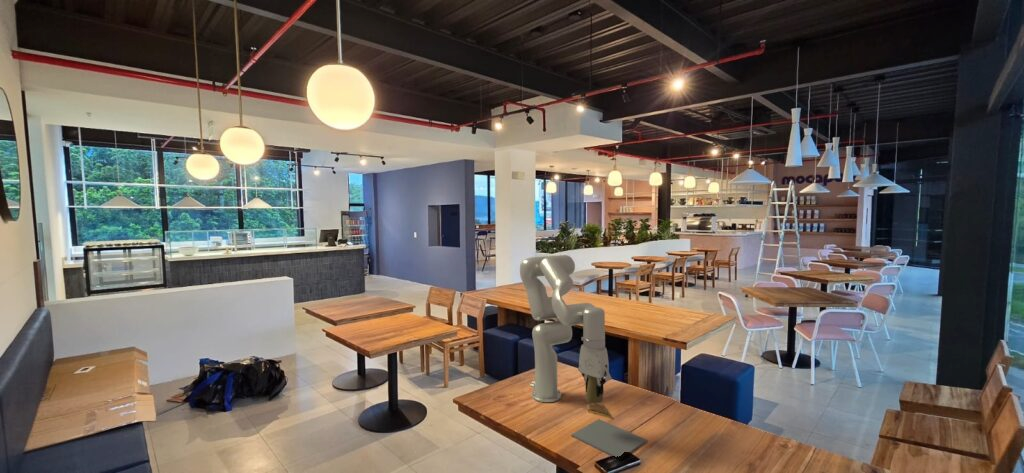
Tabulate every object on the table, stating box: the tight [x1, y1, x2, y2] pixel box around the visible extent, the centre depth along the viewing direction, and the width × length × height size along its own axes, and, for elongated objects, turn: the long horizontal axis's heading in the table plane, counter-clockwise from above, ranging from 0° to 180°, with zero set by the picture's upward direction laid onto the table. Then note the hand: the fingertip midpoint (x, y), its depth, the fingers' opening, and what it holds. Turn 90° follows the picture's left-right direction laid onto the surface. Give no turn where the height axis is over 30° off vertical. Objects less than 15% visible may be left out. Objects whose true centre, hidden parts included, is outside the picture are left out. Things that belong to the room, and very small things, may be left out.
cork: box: [585, 375, 604, 404], centre depth 150 cm, size 6×6×11 cm
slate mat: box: [570, 418, 648, 457], centre depth 146 cm, size 20×16×1 cm
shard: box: [586, 403, 613, 419], centre depth 165 cm, size 11×8×2 cm
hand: (594, 393), depth 150 cm, fingers closed on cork, 3 cm apart
